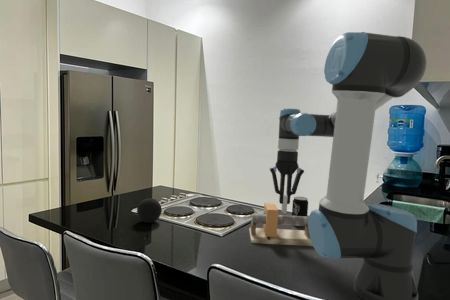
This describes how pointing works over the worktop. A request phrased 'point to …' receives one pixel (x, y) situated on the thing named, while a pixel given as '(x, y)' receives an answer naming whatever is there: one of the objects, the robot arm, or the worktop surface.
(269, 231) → the collar
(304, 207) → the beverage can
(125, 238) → the worktop surface
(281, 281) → the worktop surface
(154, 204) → the speaker
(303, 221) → the pipe board
